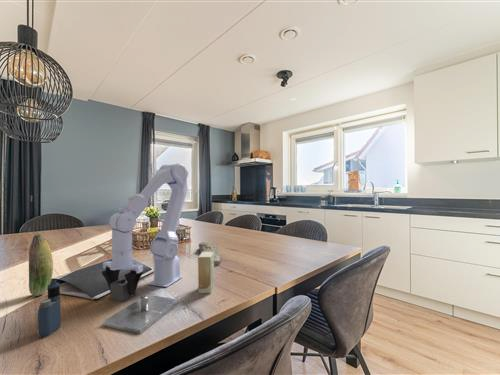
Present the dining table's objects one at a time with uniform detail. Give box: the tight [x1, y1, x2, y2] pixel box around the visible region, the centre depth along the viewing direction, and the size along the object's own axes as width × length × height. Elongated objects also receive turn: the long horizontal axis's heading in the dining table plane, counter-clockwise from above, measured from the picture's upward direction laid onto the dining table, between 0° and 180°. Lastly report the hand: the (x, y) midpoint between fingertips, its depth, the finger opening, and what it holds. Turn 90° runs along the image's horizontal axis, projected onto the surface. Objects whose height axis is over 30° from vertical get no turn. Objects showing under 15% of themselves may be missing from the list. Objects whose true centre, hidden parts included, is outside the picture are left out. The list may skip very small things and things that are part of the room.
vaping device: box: [37, 279, 62, 338], centre depth 59 cm, size 3×5×12 cm, turn 2°
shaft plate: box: [102, 294, 181, 335], centre depth 68 cm, size 16×12×4 cm
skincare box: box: [197, 252, 215, 294], centre depth 83 cm, size 6×4×12 cm
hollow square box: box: [109, 277, 136, 302], centre depth 78 cm, size 5×5×5 cm
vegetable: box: [28, 234, 54, 297], centre depth 80 cm, size 6×6×20 cm
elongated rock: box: [198, 241, 222, 267], centre depth 123 cm, size 35×5×10 cm
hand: (122, 292), depth 78 cm, fingers open, 7 cm apart
